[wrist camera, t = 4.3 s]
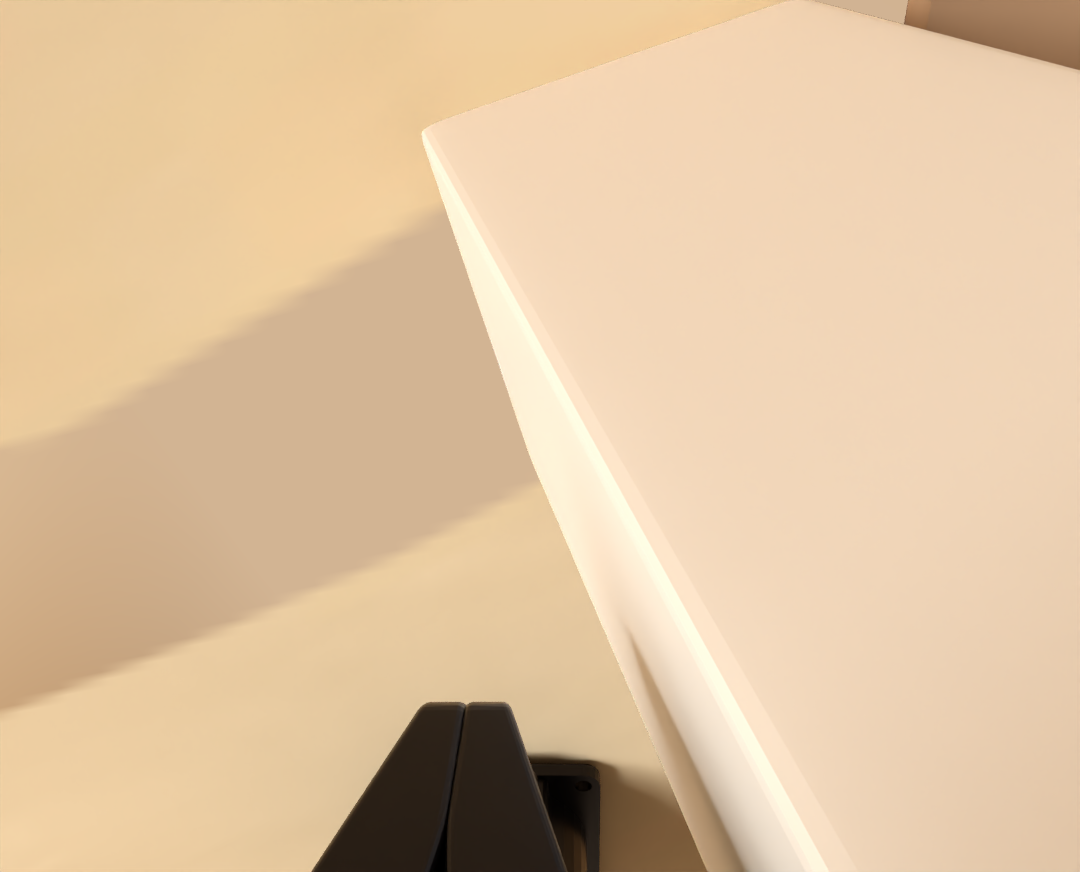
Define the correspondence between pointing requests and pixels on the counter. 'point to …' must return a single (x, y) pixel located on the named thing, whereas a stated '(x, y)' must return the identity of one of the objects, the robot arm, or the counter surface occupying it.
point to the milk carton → (809, 420)
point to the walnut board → (1006, 25)
